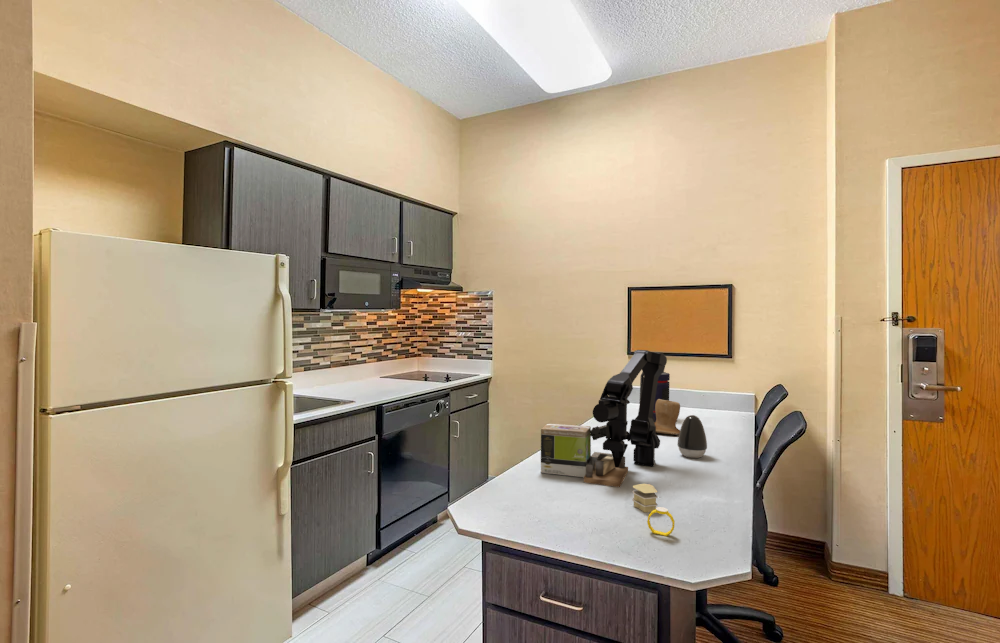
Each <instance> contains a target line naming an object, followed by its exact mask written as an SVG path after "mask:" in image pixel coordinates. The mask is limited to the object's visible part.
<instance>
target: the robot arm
mask: <svg viewBox="0 0 1000 643" xmlns="http://www.w3.org/2000/svg"><path fill="white" fill-rule="evenodd" d="M667 362H668V358H667V356H666V355H665V353H663V352H658V351H649V350H647V349H636V350H634V352H633V355H632V357H630V359H629V360H628V362H627V363H626V365H625V366H624V367H623V369H622V370H621V371H620V372H619V373H618V374H615V375H613V376H611V377H610V378H609V379H608V380H607V382H606V383H605V385H604V388H603V391H602V393H601V396H600V398H599V399H598V403H597V404H595V405H594V407H593V410H592V415H593V416H592V417H593V419H594V420H595V421H596V422H598V423H606V424H605V425H601V426H599V425H597V426H595V427H592V428H591V431H590V432H591V434H590V435H591V438H592V441H597V439H601V438H605V440H604V441H603V442H602V450H603V451H610V452H611V454H612V456H613V460H614V464H615V467H619V465H620V463H621V460H622V458H623V456H624V457H625V453H626V450H627V448H628V446H629V444H627V443H625V441H626V440H627V442H630V445H634V446H635V447H634V448H633V462H634V463H633V464H634V465H639V466H646V467H655V464H656V460H655V458H656V457H655V455H656V453H655V452H656V449H659V448H660V445H661V440H660V437H659V435H658V433H656V426H655V424H654V423H655V422H654V421H653V419H652V417H653V410H654V403H655V396H656V390H657V383H658V378H659V376H660V375H661V374H662V373H663V372H665V369H666V365H667ZM641 372H643V374H644V379H643V386H642V392H641V399H640V398H639V402H640V404H639V407H638V413H637V416H636V417H635V418H633V419H631V420H630V427H629V431H627V429H628V428H627V427H628V421H627V420H628V418H627V417H628V416H627V415H628V414H627V413H628V411H627V410H628V404H630V400H629V399H628V398H629V397H630V396H631V393H632V392H633V390H634V387H633V384H634V383H633V382H634V381H635V379H636V378H638V375H639V374H640V373H641Z"/></svg>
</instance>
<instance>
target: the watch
mask: <svg viewBox="0 0 1000 643" xmlns="http://www.w3.org/2000/svg"><path fill="white" fill-rule="evenodd" d="M654 514H659V515H665V516H668V518H670V521H671V523H672V527H671V529H670V530H668V531H667V532H664V531H660V530H656V529H655V528H654V527H653V526H652V524H651V516H652V515H654ZM646 522H647V526H648V529H649V530H650V532H652V534H655V535H660V536H664V537H667V536H670V535H671V534H672V533H673V531H674V530H675V522H676V521H675V518H674V516H673V515H672V513H670V512H669V509H668V508H666V507H663V506H658V507H657V506H656V509H655V510H653V511H652V512H649V514H648V516H647V520H646Z"/></svg>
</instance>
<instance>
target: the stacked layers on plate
mask: <svg viewBox="0 0 1000 643" xmlns="http://www.w3.org/2000/svg"><path fill="white" fill-rule="evenodd" d="M632 488H633V490H632V494H633V497H632V498H631V499H632V501H633V507H634V508H637V509H639V510H641V511H642V512H643V513H651V512H652V511H653V510H655V509H656V507H657V506H658V503H657V499H658V495H657V494H656V493H658V490H657V489H656V488H655V486H654V485H652V484H648V483H640V484H633V485H632Z"/></svg>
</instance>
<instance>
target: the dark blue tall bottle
mask: <svg viewBox="0 0 1000 643" xmlns="http://www.w3.org/2000/svg"><path fill="white" fill-rule="evenodd" d="M643 379H644V374H643V371H641V374H640V384H639V385H640V386H639V400H640V399H641V392H642V386H643ZM658 399H661V400H667V401H670V373H669V372H666V371H664V372H663V373H662V374H661V375H660V376H659V378H658V383H657V390H656V396H655V403H654V410H653V417H652V419H653V421H654V423H655V422H656V412H655V404H656V401H657V400H658ZM638 405H640V401H639V404H638Z"/></svg>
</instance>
